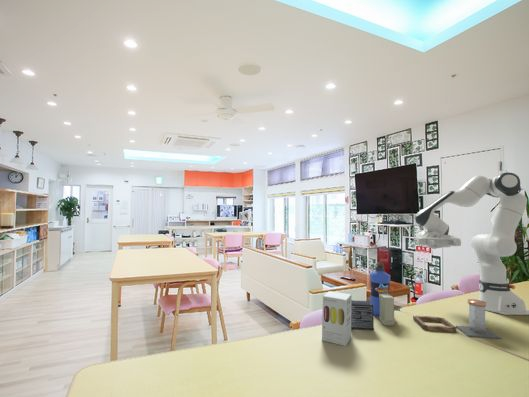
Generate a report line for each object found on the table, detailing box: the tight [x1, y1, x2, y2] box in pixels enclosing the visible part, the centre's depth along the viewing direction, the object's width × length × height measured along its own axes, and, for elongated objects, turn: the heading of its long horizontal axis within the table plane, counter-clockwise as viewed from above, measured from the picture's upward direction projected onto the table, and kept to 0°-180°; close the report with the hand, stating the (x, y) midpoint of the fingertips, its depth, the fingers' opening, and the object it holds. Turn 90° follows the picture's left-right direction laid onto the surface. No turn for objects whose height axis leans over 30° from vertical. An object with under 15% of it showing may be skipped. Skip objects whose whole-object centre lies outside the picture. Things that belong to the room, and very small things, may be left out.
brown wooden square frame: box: [412, 315, 457, 333], centre depth 129 cm, size 13×13×2 cm
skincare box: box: [379, 293, 395, 326], centre depth 131 cm, size 6×4×12 cm
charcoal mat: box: [455, 325, 502, 340], centre depth 122 cm, size 12×10×1 cm
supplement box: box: [321, 290, 352, 347], centre depth 113 cm, size 10×9×17 cm
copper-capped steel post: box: [467, 298, 487, 334], centre depth 122 cm, size 6×6×12 cm
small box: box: [351, 299, 375, 331], centre depth 126 cm, size 11×6×10 cm, turn 84°
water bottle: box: [369, 261, 391, 318], centre depth 143 cm, size 9×9×25 cm
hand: (444, 242), depth 145 cm, fingers open, 8 cm apart
